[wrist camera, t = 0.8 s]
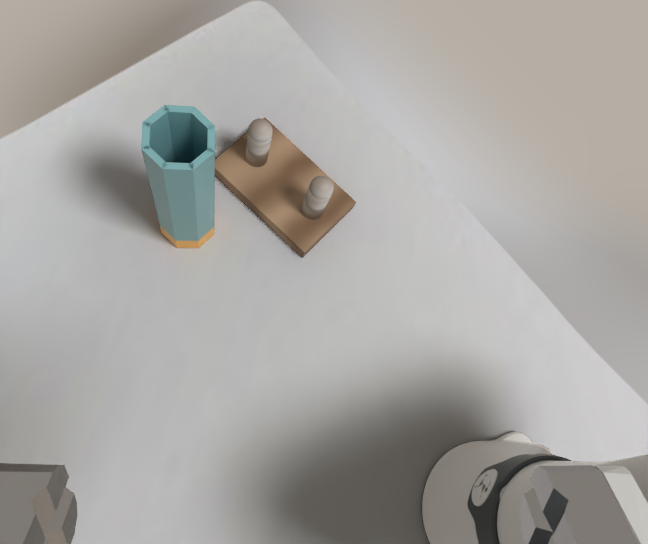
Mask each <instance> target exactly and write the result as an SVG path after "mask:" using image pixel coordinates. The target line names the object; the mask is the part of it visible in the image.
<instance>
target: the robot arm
mask: <svg viewBox="0 0 648 544" xmlns="http://www.w3.org/2000/svg"><path fill="white" fill-rule="evenodd" d="M68 478H69V476H68V473H67V471H66V468H65V466H64V465H49V464H5V463H0V544H71V542H72V539H73V536H74V533H75V526H76V520H77V502H76V499H75V495H74V493H73V492H71V491H70V490H69V489H67V488H66V487H65V486H66V483H67V481H68ZM422 515H423V522H424V527H425V531H426V534H427V537H428V540H429V542H430V544H648V455H643V456H638V457H633V458H628V459H623V460H616V461H608V462H581V461H571V460H569V459H566V458H563V457H559V456H555V455H552V454H551V453H550V452H549V448H547V447H546V446H543V445H538V444H534V443H533V442H532V441H531V440H530V439H529V438H528V437H527V436H526V435H524V434H523V433H520V432H510V433H507V434H505V435H503V436H501V437H499V438H498V439H496V440H491V441H473V442H468V443H464V444H461V445H459V446H457V447H455V448H453V449H451V450H450V451H448V452H447V453H446V454H445V455H444V456H443V457H442V458H441V459H440V460H439V461H438V462H437V463H436V465H435V466H434V468H433V469H432V471H431V473H430V475H429V477H428V480H427V482H426V485H425V489H424V494H423V501H422Z"/></svg>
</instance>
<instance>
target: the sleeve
mask: <svg viewBox="0 0 648 544" xmlns="http://www.w3.org/2000/svg"><path fill="white" fill-rule="evenodd" d="M141 149H142V153H143V158H144V162H145V166H146V170H147V174H148V178H149V182H150V187H151V191H152V195H153V199H154V203H155V207H156V211H157V216H158V220H159V224H160V228H161V232H162V234H163V235H164V236H165V237H166V238H167V239H168V240H169V241H170V242H171V243H172V244H173V245H174V246H176V247H177V248H199V247H201V246H202V245H203V244H204V243H205V242H206V241H207V240H208V239H209V238H211V237H212V236H213V235H214V191H215V125H213V124H212V123H211V122H210V121H209V120H208V119H207V118H206V117H205V116H204V115H203V114H202V113H201V112H200V111H199V110H197V109H196V108H195V107H190V106H173V105H164V106H163V107H162V108H160V109H159V110H158V111H156V112H155V113H154V114H152V115H151V116H150V117H149V118H147V119H146V120H145V121H143V124H142V146H141Z"/></svg>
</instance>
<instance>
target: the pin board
mask: <svg viewBox="0 0 648 544" xmlns="http://www.w3.org/2000/svg"><path fill="white" fill-rule="evenodd" d="M215 176H216V177H217V178H218V179H219V180H220V181H221V182H222V183H223V184H224V185H226V186H227V187H228V188H229V189H230V190H231V191H232V192H233V193H234V194H235V195H236V196H237V197H238V198H239V199H240V200H241V201H243V202H244V203H245V204H246V205H247V206H248V207H249V208H250V209H251V210H252V211H253V212H254V213H255V214H256V215H257V216H258V217H259V218H261V219H262V220H263V221H264V222H265V223H266V224H267V225H268V226H269V227H270V228H271V229H272V230H273V231H274V232H275V233H276V234H277V235H279V236H280V237H281V238H282V239H283V240H284V241H285V242H286V243H287V244H288V245H289V246H290V247H291V248H292V249H293V250H294V251H295V252H297V253H298V254H299V255H300V256H301V257H302V258H303V257H304V256H305V255H306V254H307V253H308V252H309V251H310V250H311V249H312V248H313V247H314V246H315V245H316V244H317V243H318V242H319V241H320V240H321V239H322V238H323V237H324V236H325V235H326V234H327V233H328V232H329V231H330V230H331V229H332V228H333V227H334V226H335V225H336V224H337V223H338V222H339V221H340V220H341V219H342V218H343V217H344V216H345V215H346V214H347V213H348V212H349V211H350V210H351V209H352V208H353V206H354V205H355V203H356V202H355V201H354V200H353V199H352V198H351V197H350V196H349V195H348V194H347V193H346V192H345V191H343V190H342V189H341V188H340V187H339V186H338V185H337V184H336V183H335V182H334V181H333V180H332V179H331V178H329V177H328V176H327V175H326V174H325V173H324V172H323V171H322V170H321V169H320V168H319V167H318V166H317V165H315V164H314V163H313V162H312V161H311V160H310V159H309V158H308V157H307V156H306V155H305V154H304V153H303V152H301V151H300V150H299V149H298V148H297V147H296V146H295V145H294V144H293V143H292V142H291V141H290V140H289V139H287V138H286V137H285V136H284V135H283V134H282V133H281V132H280V131H279V130H278V129H277V128H276V127H275V126H273V125H272V124H271V123H270V122H269V121H268V120H267V119H266V118H264V119H256V120H254V121H253V122H252V123H251V124H250V126H249V129H248V132H247V133H246V134H245V135H243V136H242V137H241V138H240V139H239V140H238V141H236V142H235V143H234V144H233V145H232V146H230V147H229V148H228V149H227V150H226V151H225V152H223V153H222V154H221V155H220V156H219V157H217V158H216V159H215Z"/></svg>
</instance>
